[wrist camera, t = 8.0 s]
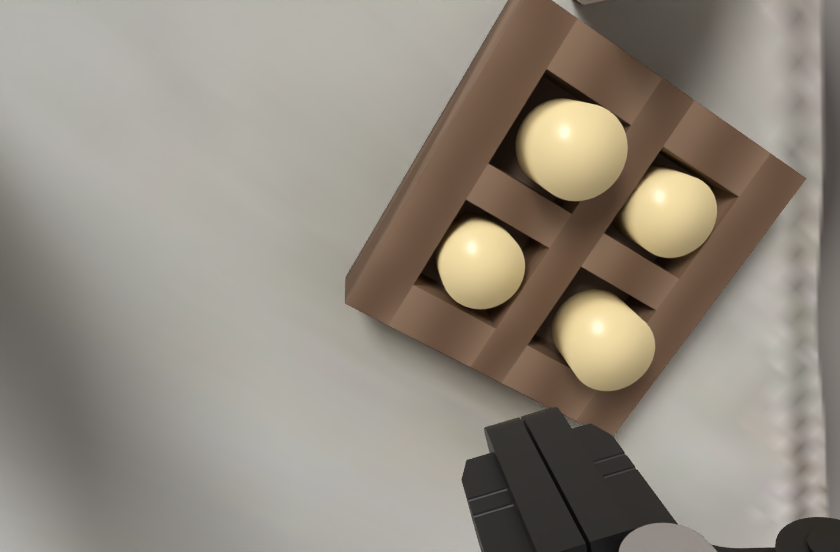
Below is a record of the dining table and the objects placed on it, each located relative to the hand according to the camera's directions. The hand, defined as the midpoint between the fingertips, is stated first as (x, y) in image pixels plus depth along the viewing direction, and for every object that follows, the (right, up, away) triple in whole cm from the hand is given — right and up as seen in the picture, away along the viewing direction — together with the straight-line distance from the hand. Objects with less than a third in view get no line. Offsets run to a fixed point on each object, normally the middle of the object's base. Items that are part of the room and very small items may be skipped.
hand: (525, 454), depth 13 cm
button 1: (+1, +5, +22) cm, 23 cm away
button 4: (+10, +8, +22) cm, 26 cm away
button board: (+5, +7, +24) cm, 25 cm away
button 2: (+7, +1, +22) cm, 23 cm away
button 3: (+5, +10, +18) cm, 21 cm away
